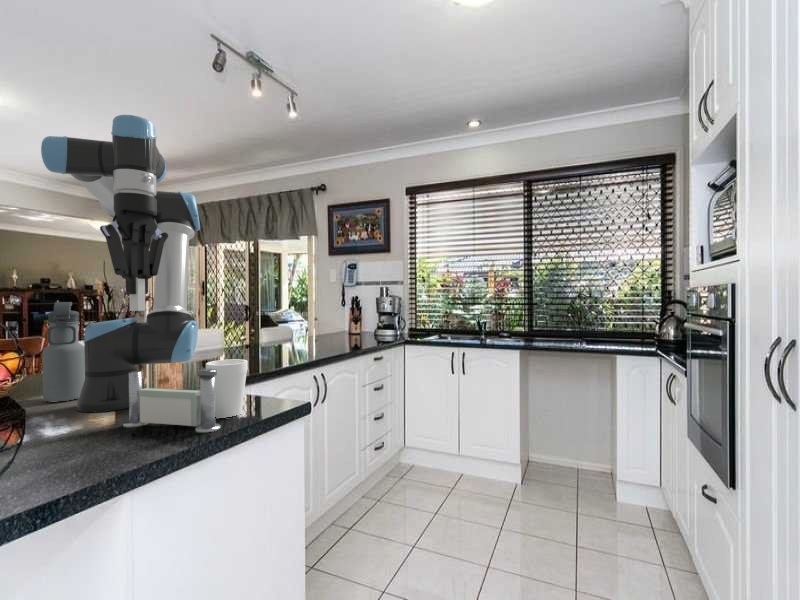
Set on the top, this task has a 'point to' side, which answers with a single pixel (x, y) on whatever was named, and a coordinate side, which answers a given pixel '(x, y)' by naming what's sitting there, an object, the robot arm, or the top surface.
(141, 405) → the gate
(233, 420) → the top surface
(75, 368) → the water bottle
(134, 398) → the hinge post
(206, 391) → the post
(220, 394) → the foam cup
